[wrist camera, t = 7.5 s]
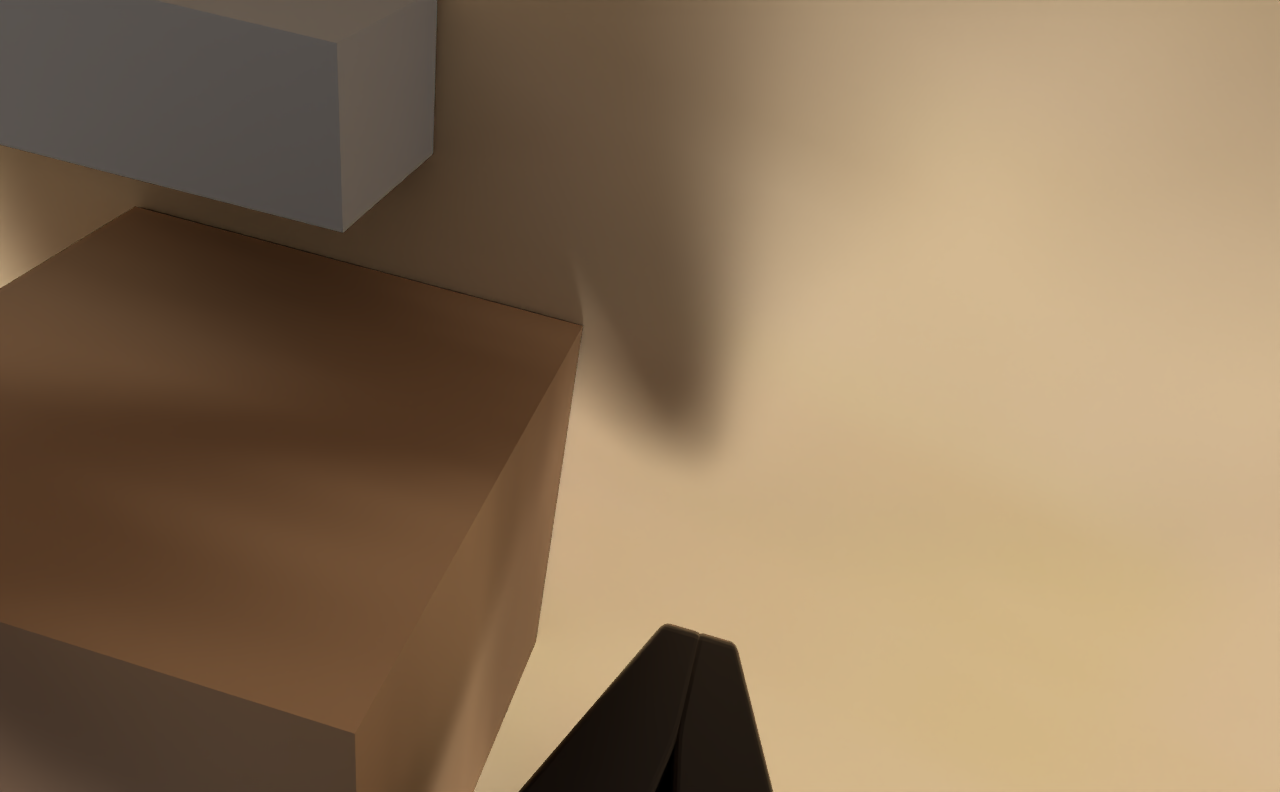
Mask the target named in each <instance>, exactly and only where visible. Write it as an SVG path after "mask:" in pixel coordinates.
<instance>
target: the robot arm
mask: <svg viewBox="0 0 1280 792" xmlns="http://www.w3.org/2000/svg"><path fill="white" fill-rule="evenodd" d="M519 792H773V789H772V785H771V781H770V777H769V773H768V769H767V765H766V761H765V757H764V753H763V749H762V745H761V741H760V737H759V733H758V729H757V725H756V721H755V717H754V713H753V709H752V705H751V701H750V697H749V693H748V689H747V685H746V681H745V677H744V673H743V669H742V665H741V661H740V657H739V653H738V650H737V648H736V646H735V645H734V644H733V643H732V642H730V641H727V640H724V639H720V638H717V637H714V636H710V635H707V634H699V633H698V632H696V631H693V630H690V629H686V628H683V627H679V626H676V625H672V624H664V625H663V626H661V627H660V628H659V629H658V630H657V631H656V632H655V634H654V635H653V636H652V637H651V638H650V639H649V641H648V642H647V643H646V644H645V645H644V646H643V648H642V649H641V650H640V651H639V652H638V653H637V655H636V656H635V657H634V658H633V659H632V660H631V662H630V663H629V664H628V665H627V666H626V667H625V669H624V670H623V671H622V672H621V673H620V674H619V676H618V677H617V678H616V679H615V680H614V681H613V682H612V684H611V685H610V686H609V687H608V688H607V689H606V691H605V692H604V693H603V694H602V695H601V696H600V698H599V699H598V700H597V701H596V702H595V703H594V705H593V706H592V707H591V708H590V709H589V710H588V712H587V713H586V714H585V715H584V716H583V717H582V719H581V720H580V721H579V722H578V723H577V724H576V726H575V727H574V728H573V729H572V730H571V731H570V733H569V734H568V735H567V736H566V737H565V738H564V740H563V741H562V742H561V743H560V744H559V745H558V747H557V748H556V749H555V750H554V751H553V752H552V753H551V755H550V756H549V757H548V758H547V759H546V760H545V762H544V763H543V764H542V765H541V766H540V767H539V769H538V770H537V771H536V772H535V773H534V774H533V776H532V777H531V778H530V779H529V780H528V781H527V783H526V784H525V785H524V786H523V787H522V788H521V790H520V791H519Z"/></svg>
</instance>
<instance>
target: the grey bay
mask: <svg viewBox="0 0 1280 792" xmlns="http://www.w3.org/2000/svg"><path fill="white" fill-rule="evenodd" d="M436 31H437V0H0V145H3V146H7V147H11V148H15V149H19V150H23V151H27V152H31V153H34V154H38V155H42V156H46V157H50V158H54V159H58V160H62V161H66V162H69V163H73V164H77V165H81V166H85V167H89V168H93V169H97V170H101V171H104V172H108V173H112V174H116V175H120V176H124V177H128V178H132V179H136V180H140V181H143V182H147V183H151V184H155V185H159V186H163V187H167V188H171V189H175V190H178V191H182V192H186V193H190V194H194V195H198V196H202V197H206V198H210V199H213V200H217V201H221V202H225V203H229V204H233V205H237V206H241V207H245V208H248V209H252V210H256V211H260V212H264V213H268V214H272V215H276V216H280V217H283V218H287V219H291V220H295V221H299V222H303V223H307V224H311V225H315V226H319V227H322V228H326V229H330V230H334V231H338V232H342V233H343V232H344V231H346V230H347V229H348V228H349V227H350V226H351V225H352V224H354V223H355V222H356V221H357V220H358V219H359V218H360V217H362V216H363V215H364V214H365V213H366V212H367V211H368V210H370V209H371V208H372V207H373V206H374V205H375V204H376V203H378V202H379V201H380V200H381V199H382V198H383V197H384V196H386V195H387V194H388V193H389V192H390V191H391V190H392V189H394V188H395V187H396V186H397V185H398V184H399V183H400V182H402V181H403V180H404V179H405V178H406V177H407V176H408V175H410V174H411V173H412V172H413V171H414V170H415V169H416V168H418V167H419V166H420V165H421V164H422V163H423V162H424V161H426V160H427V159H428V158H429V157H430V156H431V155H432V154H433V139H434V103H435V67H436Z"/></svg>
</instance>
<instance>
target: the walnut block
mask: <svg viewBox="0 0 1280 792" xmlns="http://www.w3.org/2000/svg"><path fill="white" fill-rule="evenodd" d="M582 328H583V326H581V325H577V324H573V323H570V322H566V321H562V320H558V319H555V318H551V317H547V316H544V315H540V314H536V313H532V312H529V311H525V310H521V309H517V308H514V307H510V306H506V305H502V304H499V303H495V302H491V301H487V300H484V299H480V298H476V297H472V296H469V295H465V294H461V293H457V292H454V291H450V290H446V289H442V288H439V287H435V286H431V285H427V284H424V283H420V282H416V281H412V280H409V279H405V278H401V277H397V276H394V275H390V274H386V273H382V272H379V271H375V270H371V269H367V268H364V267H360V266H356V265H353V264H349V263H345V262H341V261H338V260H334V259H330V258H326V257H323V256H319V255H315V254H311V253H308V252H304V251H300V250H296V249H293V248H289V247H285V246H281V245H278V244H274V243H270V242H266V241H263V240H259V239H255V238H251V237H248V236H244V235H240V234H236V233H233V232H229V231H225V230H221V229H218V228H214V227H210V226H206V225H203V224H199V223H195V222H191V221H188V220H184V219H180V218H176V217H173V216H169V215H165V214H162V213H158V212H154V211H150V210H147V209H143V208H139V207H134V208H132V209H130V210H129V211H127V212H125V213H124V214H122V215H120V216H119V217H117V218H115V219H114V220H112V221H111V222H109V223H107V224H106V225H104V226H102V227H101V228H99V229H97V230H96V231H94V232H92V233H91V234H89V235H87V236H86V237H84V238H83V239H81V240H79V241H78V242H76V243H74V244H73V245H71V246H69V247H68V248H66V249H64V250H63V251H61V252H59V253H58V254H56V255H55V256H53V257H51V258H50V259H48V260H46V261H45V262H43V263H41V264H40V265H38V266H36V267H35V268H33V269H31V270H30V271H28V272H27V273H25V274H23V275H22V276H20V277H18V278H17V279H15V280H13V281H12V282H10V283H8V284H7V285H5V286H3V287H2V288H0V792H473V791H474V789H475V787H476V784H477V782H478V779H479V777H480V775H481V772H482V770H483V767H484V765H485V763H486V760H487V758H488V755H489V753H490V751H491V748H492V746H493V743H494V741H495V738H496V736H497V734H498V731H499V729H500V726H501V724H502V722H503V719H504V717H505V714H506V712H507V710H508V707H509V705H510V702H511V700H512V698H513V695H514V693H515V690H516V688H517V686H518V683H519V681H520V678H521V676H522V674H523V671H524V669H525V666H526V664H527V662H528V659H529V657H530V654H531V652H532V650H533V647H534V645H535V642H536V637H537V630H538V624H539V617H540V610H541V604H542V597H543V590H544V583H545V577H546V570H547V563H548V557H549V550H550V543H551V536H552V530H553V523H554V516H555V509H556V503H557V496H558V489H559V483H560V476H561V469H562V462H563V456H564V449H565V442H566V436H567V429H568V422H569V415H570V409H571V402H572V395H573V389H574V382H575V375H576V368H577V362H578V355H579V348H580V342H581V335H582Z"/></svg>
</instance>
